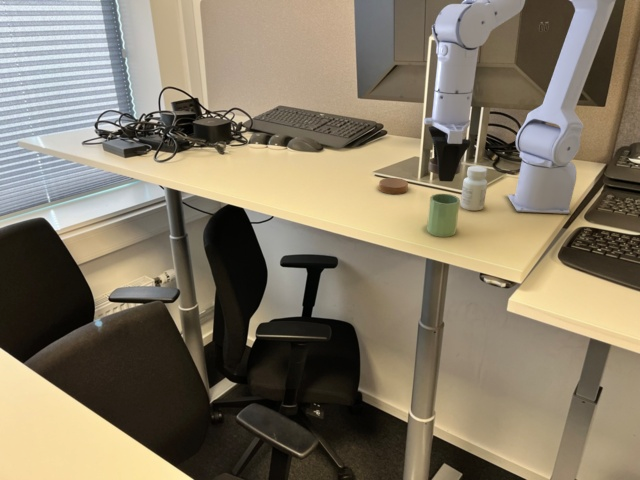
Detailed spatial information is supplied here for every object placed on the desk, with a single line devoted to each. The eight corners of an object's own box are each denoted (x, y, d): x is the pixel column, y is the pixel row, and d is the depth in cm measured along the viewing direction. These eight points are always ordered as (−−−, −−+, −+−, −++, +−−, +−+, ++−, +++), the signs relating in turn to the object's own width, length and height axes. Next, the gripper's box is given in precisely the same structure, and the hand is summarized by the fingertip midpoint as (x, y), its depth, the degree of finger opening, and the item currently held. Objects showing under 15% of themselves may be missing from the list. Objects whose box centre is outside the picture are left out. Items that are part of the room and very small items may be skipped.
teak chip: (406, 184, 102) (407, 178, 101) (408, 194, 96) (408, 188, 96) (379, 183, 102) (379, 177, 102) (378, 193, 97) (379, 187, 96)
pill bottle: (480, 202, 92) (486, 165, 89) (485, 211, 89) (492, 172, 85) (458, 202, 93) (463, 164, 89) (462, 210, 89) (467, 172, 85)
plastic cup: (453, 225, 83) (457, 194, 81) (457, 237, 79) (461, 205, 76) (426, 224, 84) (429, 192, 81) (428, 236, 79) (431, 203, 77)
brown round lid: (458, 165, 80) (459, 157, 79) (462, 175, 75) (463, 166, 74) (427, 164, 80) (427, 156, 80) (429, 174, 76) (430, 165, 75)
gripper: (423, 83, 79) (416, 160, 85) (431, 99, 66) (422, 189, 72) (466, 83, 78) (456, 161, 84) (482, 99, 65) (469, 191, 71)
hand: (443, 174), depth 78 cm, fingers closed on brown round lid, 5 cm apart
